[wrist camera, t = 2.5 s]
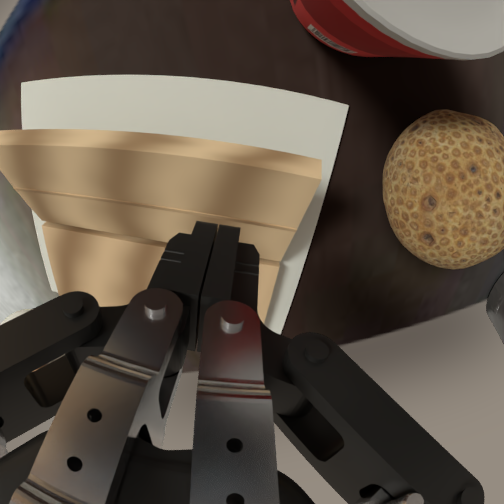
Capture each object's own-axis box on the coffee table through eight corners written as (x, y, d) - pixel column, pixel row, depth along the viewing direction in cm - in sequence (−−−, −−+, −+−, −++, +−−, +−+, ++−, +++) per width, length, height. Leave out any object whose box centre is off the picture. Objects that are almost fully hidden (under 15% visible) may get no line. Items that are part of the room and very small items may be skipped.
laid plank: (280, 253, 24) (280, 262, 23) (260, 327, 28) (260, 337, 27) (48, 214, 23) (40, 221, 22) (64, 287, 27) (59, 295, 26)
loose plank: (321, 159, 14) (321, 180, 14) (282, 246, 23) (280, 262, 23) (-8, 131, 13) (-18, 146, 13) (47, 208, 22) (41, 221, 22)
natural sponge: (433, 70, 15) (535, 94, 7) (485, 170, 18) (566, 240, 10) (333, 146, 19) (379, 219, 11) (400, 235, 22) (451, 332, 14)
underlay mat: (348, 105, 17) (349, 105, 17) (279, 336, 29) (279, 337, 29) (23, 82, 16) (21, 82, 16) (52, 289, 28) (51, 290, 28)
